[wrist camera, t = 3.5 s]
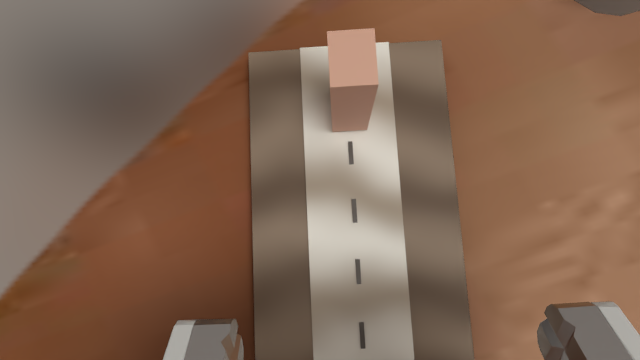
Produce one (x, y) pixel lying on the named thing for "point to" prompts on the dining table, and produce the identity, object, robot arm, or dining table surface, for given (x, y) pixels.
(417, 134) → the board with dashed strip
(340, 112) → the stub
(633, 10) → the cup
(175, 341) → the robot arm
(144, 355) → the dining table surface
